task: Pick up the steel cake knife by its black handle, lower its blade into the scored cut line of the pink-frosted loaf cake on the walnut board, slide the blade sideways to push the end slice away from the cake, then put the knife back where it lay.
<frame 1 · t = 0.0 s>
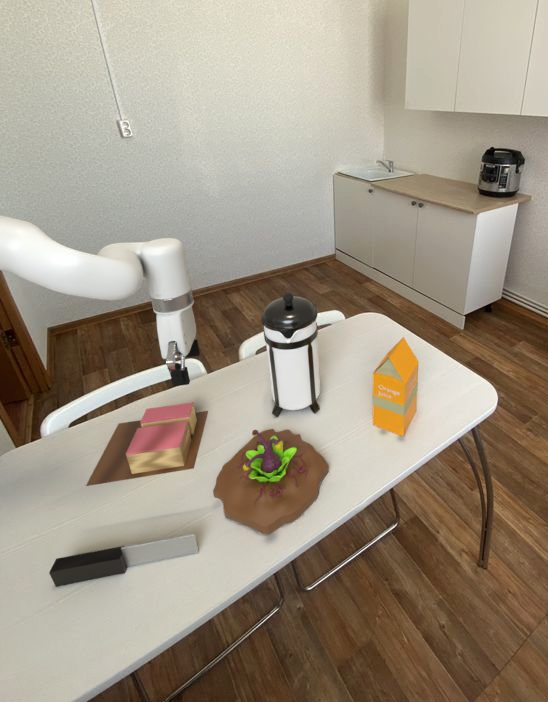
hand: (187, 369, 83), 17 cm above the table, tool pointing down, fingers open, 9 cm apart
coffee press: (296, 396, 98), on the table
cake: (154, 447, 84), on the table
cake slice: (172, 431, 87), point 1 cm above the table, touching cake
orange juice: (395, 418, 91), on the table
knife: (93, 572, 61), on the table
plant: (273, 480, 76), on the table
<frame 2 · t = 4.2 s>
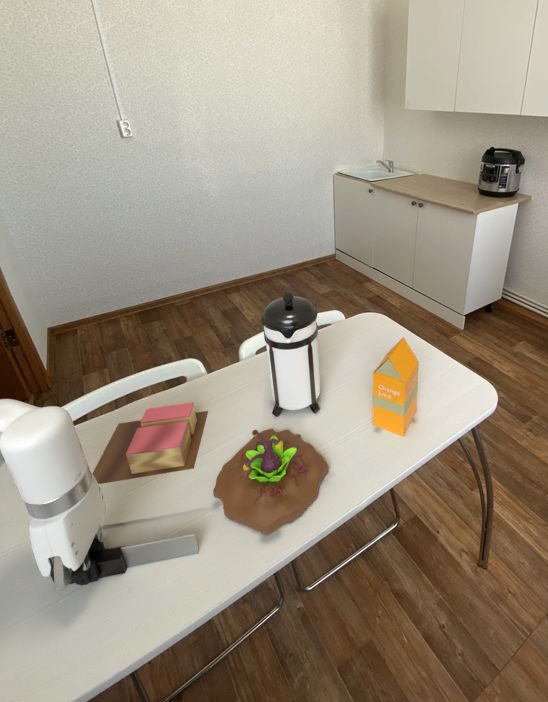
hand: (92, 570, 61), 1 cm above the table, tool pointing down, fingers closed on knife, 2 cm apart
knife: (93, 573, 61), on the table, touching gripper
everything else where it was.
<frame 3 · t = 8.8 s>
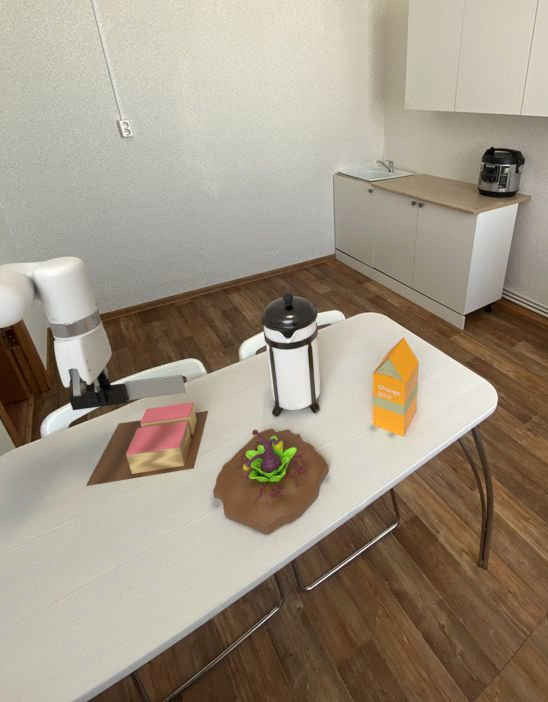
hand: (101, 400, 77), 14 cm above the table, tool pointing down, fingers closed on knife
knife: (102, 403, 78), point 14 cm above the table, touching gripper
everything else where it was.
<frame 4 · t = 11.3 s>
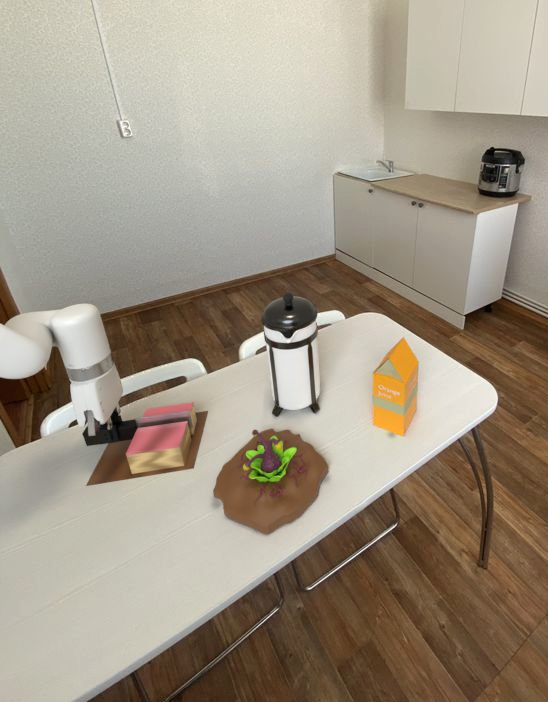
hand: (113, 436, 81), 4 cm above the table, tool pointing down, fingers closed on knife
knife: (114, 438, 82), point 4 cm above the table, touching gripper
everything else where it was.
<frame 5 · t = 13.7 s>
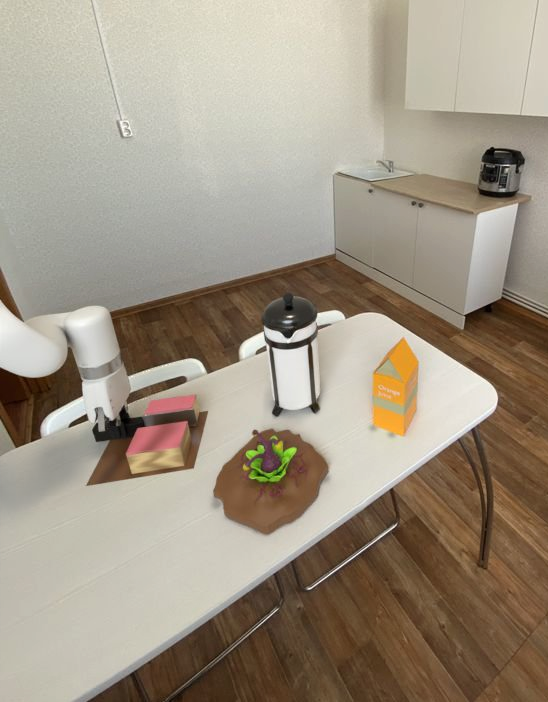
hand: (121, 432, 85), 2 cm above the table, tool pointing down, fingers closed on knife, 2 cm apart
cake slice: (175, 422, 89), point 1 cm above the table, touching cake, knife
knife: (122, 434, 85), point 1 cm above the table, touching cake slice, gripper
everything else where it was.
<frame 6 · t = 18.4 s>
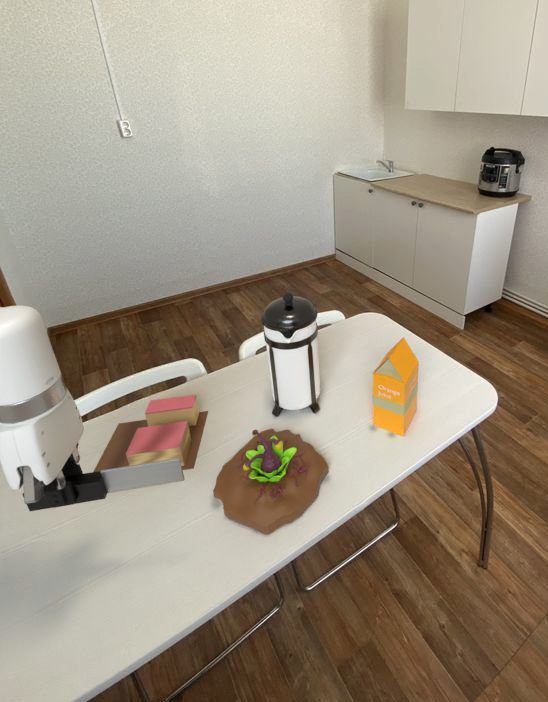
hand: (69, 494, 57), 16 cm above the table, tool pointing down, fingers closed on knife
cake slice: (175, 422, 89), point 1 cm above the table, touching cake
knife: (71, 498, 57), point 15 cm above the table, touching gripper
everything else where it was.
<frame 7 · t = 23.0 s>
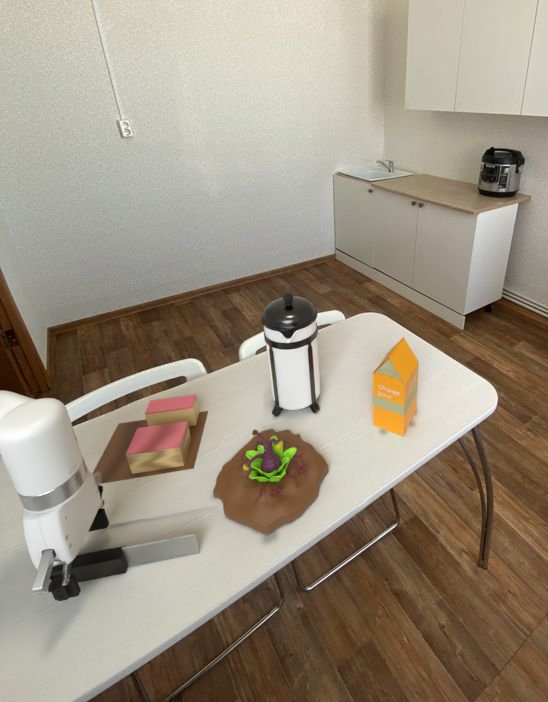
hand: (84, 559, 60), 3 cm above the table, tool pointing down, fingers open, 9 cm apart
knife: (94, 572, 61), on the table
everything else where it was.
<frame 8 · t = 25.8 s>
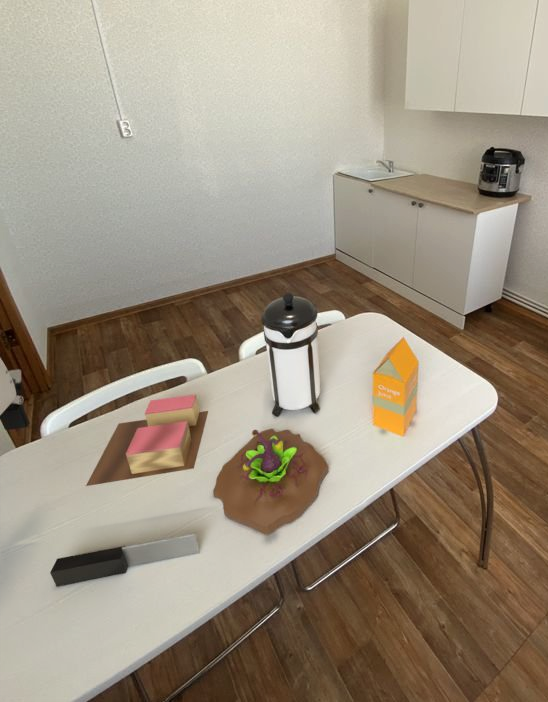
nothing on the table moved.
at the end: cake slice 0.8 cm from the target spot on the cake, point 1.0 cm above the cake's base; cake slice tilted 0°; knife inside the target area (0.1 cm from its centre), on the table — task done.
